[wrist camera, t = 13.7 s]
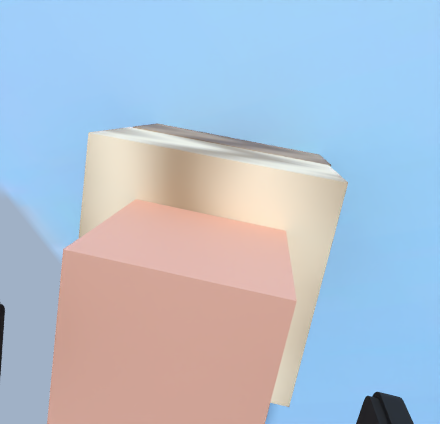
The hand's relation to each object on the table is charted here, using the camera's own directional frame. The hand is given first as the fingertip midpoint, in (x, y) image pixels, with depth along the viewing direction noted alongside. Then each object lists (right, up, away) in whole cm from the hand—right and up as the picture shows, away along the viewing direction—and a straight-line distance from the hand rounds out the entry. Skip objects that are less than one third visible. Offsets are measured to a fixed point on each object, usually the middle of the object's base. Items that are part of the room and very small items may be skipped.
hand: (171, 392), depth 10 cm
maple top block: (+1, +3, +11) cm, 12 cm away
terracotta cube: (0, +2, +7) cm, 7 cm away
